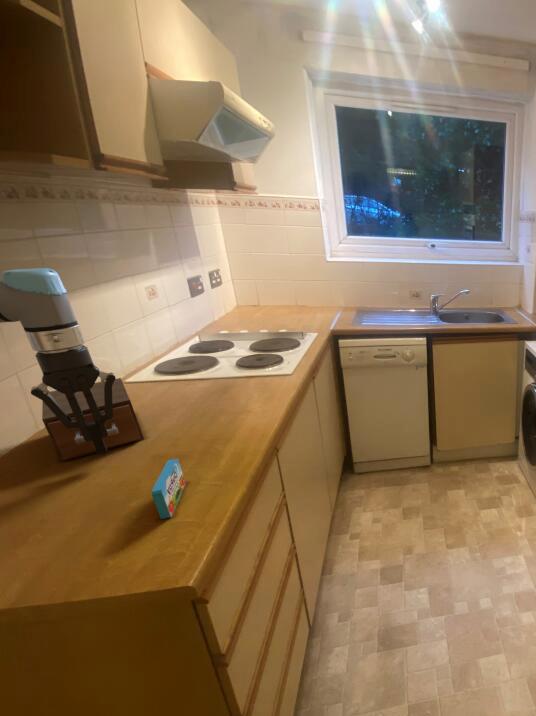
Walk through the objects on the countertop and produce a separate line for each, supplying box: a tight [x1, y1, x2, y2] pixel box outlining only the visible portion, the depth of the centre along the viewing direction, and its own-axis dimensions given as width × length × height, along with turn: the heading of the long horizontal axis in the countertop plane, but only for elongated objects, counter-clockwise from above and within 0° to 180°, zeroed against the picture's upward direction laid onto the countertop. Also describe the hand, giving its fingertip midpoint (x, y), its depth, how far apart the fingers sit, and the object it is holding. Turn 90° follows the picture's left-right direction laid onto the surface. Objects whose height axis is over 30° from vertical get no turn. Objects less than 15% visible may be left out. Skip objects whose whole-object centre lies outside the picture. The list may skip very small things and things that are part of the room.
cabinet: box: [41, 377, 145, 463], centre depth 106 cm, size 20×15×11 cm
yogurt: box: [151, 458, 187, 520], centre depth 84 cm, size 12×2×6 cm, turn 24°
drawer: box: [48, 404, 141, 459], centre depth 103 cm, size 24×14×9 cm, turn 45°
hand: (102, 451), depth 95 cm, fingers closed
